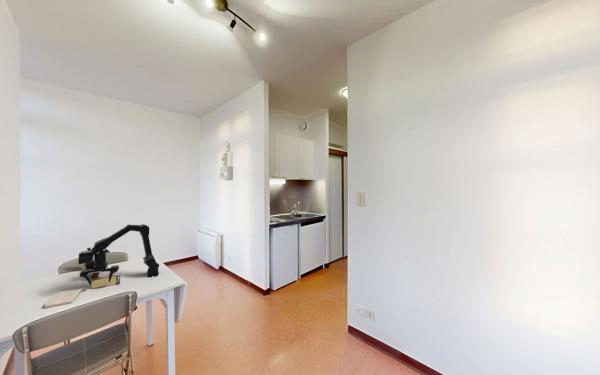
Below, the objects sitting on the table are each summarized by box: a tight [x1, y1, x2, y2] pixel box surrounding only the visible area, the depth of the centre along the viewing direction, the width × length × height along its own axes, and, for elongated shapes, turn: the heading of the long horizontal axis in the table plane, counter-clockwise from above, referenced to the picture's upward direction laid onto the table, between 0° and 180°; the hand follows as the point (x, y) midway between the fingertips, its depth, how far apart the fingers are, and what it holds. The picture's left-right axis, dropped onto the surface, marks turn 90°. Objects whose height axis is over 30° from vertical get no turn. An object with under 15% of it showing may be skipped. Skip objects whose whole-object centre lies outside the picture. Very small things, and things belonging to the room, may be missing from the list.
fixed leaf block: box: [94, 274, 118, 280], centre depth 152 cm, size 12×4×5 cm, turn 118°
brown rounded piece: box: [85, 261, 100, 280], centre depth 160 cm, size 9×8×13 cm
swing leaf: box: [91, 274, 121, 289], centre depth 150 cm, size 15×3×6 cm, turn 121°
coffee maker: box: [80, 247, 94, 272], centre depth 176 cm, size 15×9×18 cm, turn 77°
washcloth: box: [44, 287, 84, 309], centre depth 133 cm, size 12×18×3 cm, turn 31°
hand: (100, 283), depth 145 cm, fingers open, 9 cm apart
